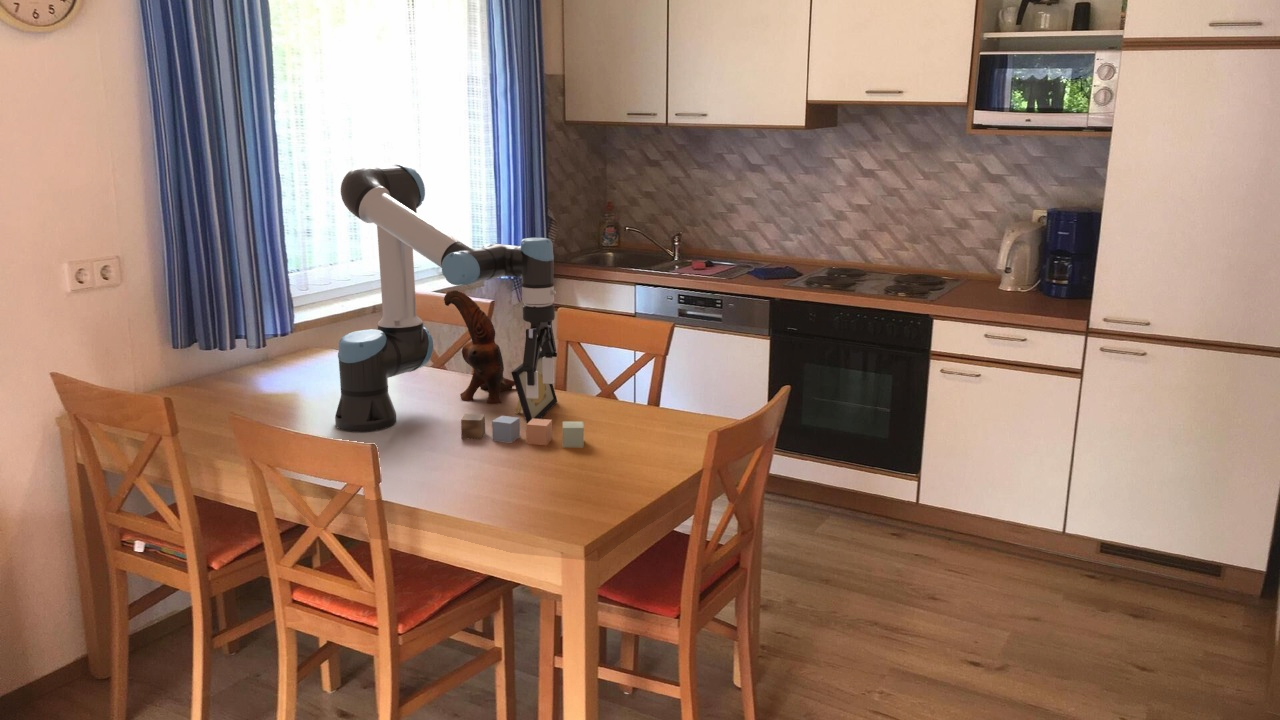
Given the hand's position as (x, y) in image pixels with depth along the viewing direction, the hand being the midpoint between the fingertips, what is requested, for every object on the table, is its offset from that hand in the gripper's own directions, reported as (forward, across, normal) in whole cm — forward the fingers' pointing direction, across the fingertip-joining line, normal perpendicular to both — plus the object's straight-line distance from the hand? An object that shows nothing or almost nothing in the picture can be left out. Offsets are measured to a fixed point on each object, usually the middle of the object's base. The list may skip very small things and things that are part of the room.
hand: (540, 390), depth 241 cm
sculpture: (+12, +36, +27) cm, 47 cm away
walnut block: (+13, 0, +18) cm, 22 cm away
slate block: (+13, 0, +9) cm, 16 cm away
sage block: (+13, 0, -8) cm, 15 cm away
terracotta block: (+13, 0, +1) cm, 13 cm away
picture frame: (+13, +21, +10) cm, 27 cm away
